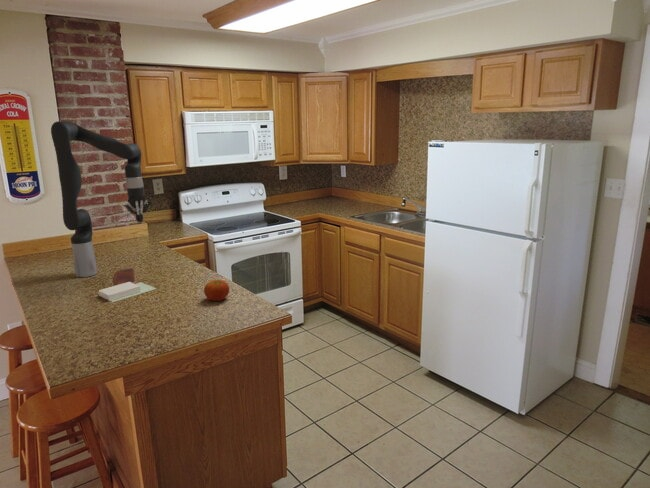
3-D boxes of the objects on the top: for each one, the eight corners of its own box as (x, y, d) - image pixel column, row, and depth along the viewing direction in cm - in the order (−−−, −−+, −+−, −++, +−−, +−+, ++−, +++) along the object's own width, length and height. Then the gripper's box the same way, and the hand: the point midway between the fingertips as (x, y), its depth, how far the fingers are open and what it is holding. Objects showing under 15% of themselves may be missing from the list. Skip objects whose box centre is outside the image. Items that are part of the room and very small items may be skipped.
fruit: (203, 296, 200) (202, 279, 198) (227, 293, 204) (226, 275, 201) (206, 305, 190) (204, 287, 188) (232, 301, 194) (230, 283, 192)
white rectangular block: (129, 281, 212) (98, 290, 202) (140, 286, 206) (108, 295, 196) (130, 286, 213) (99, 295, 203) (140, 291, 207) (109, 301, 197)
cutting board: (141, 283, 219) (141, 282, 219) (156, 289, 210) (156, 288, 210) (98, 295, 205) (98, 294, 205) (112, 303, 196) (112, 302, 196)
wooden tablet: (136, 284, 219) (135, 281, 219) (113, 288, 216) (112, 284, 215) (135, 269, 243) (135, 265, 243) (114, 271, 240) (114, 268, 239)
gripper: (144, 184, 227) (148, 218, 232) (117, 187, 218) (123, 223, 223) (152, 185, 223) (156, 220, 227) (125, 188, 213) (130, 225, 218)
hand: (140, 221), depth 225 cm, fingers closed
